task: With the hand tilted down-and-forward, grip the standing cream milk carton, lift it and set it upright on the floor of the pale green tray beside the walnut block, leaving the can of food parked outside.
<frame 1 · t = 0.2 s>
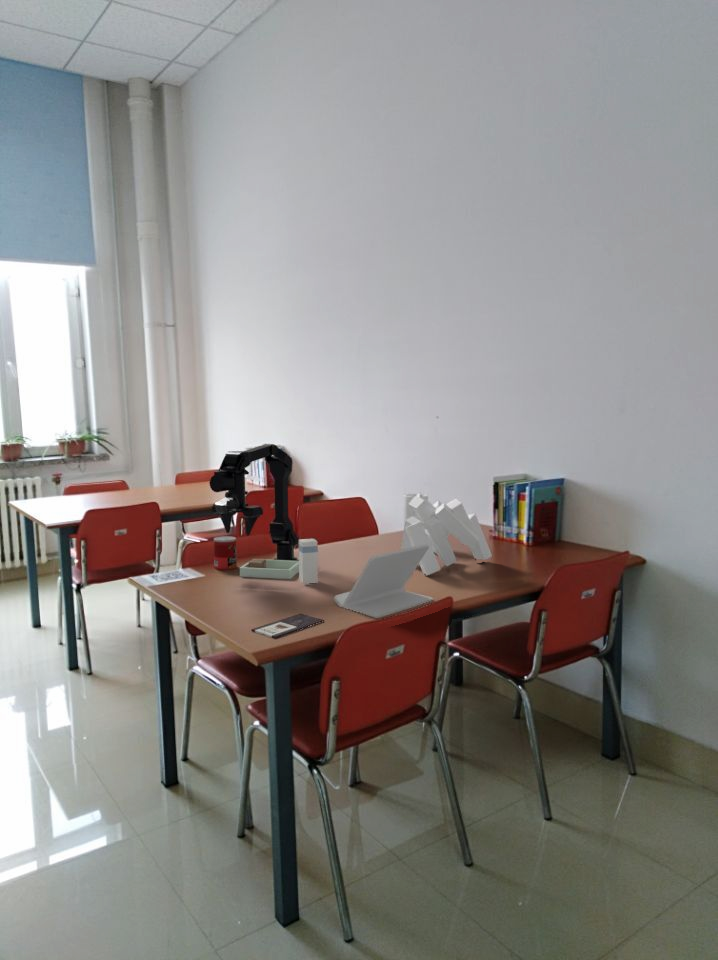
hand: (237, 534, 241), 14 cm above the table, tool pointing down, fingers open, 9 cm apart
pale green tray: (271, 574, 245), on the table
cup: (415, 548, 289), on the table
carton: (308, 582, 235), on the table
walnut block: (257, 572, 246), resting on pale green tray
chocolate bar: (288, 628, 189), on the table
canned food: (225, 569, 253), on the table
white geometric sculpture: (442, 568, 255), on the table
tablet stand: (384, 603, 211), on the table
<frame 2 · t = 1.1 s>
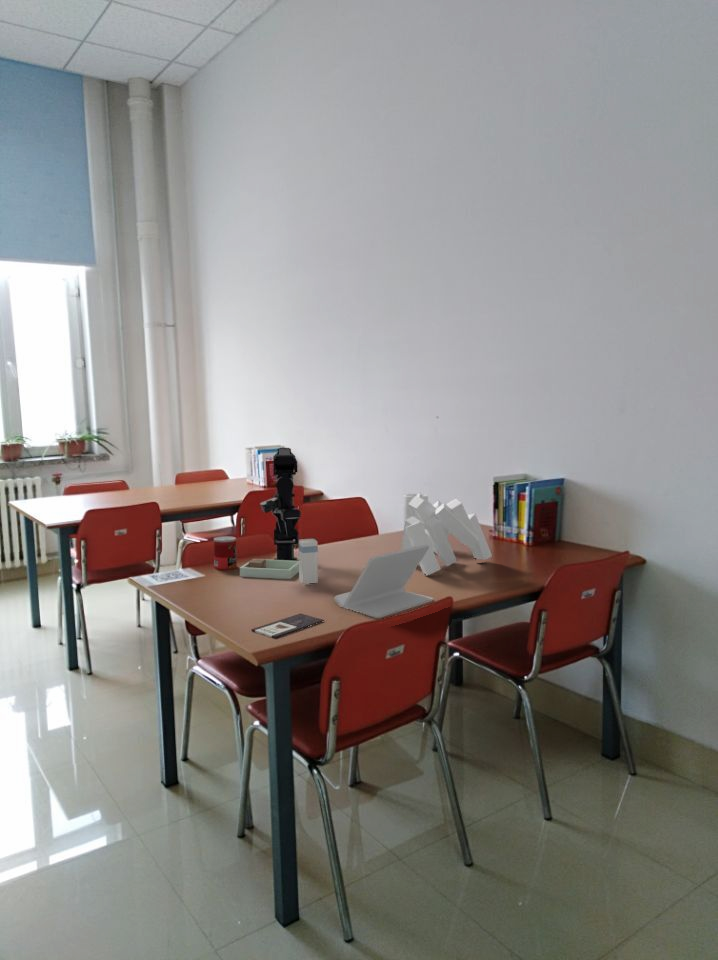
hand: (285, 534, 249), 13 cm above the table, tool pointing down, fingers open, 9 cm apart
nothing on the table moved.
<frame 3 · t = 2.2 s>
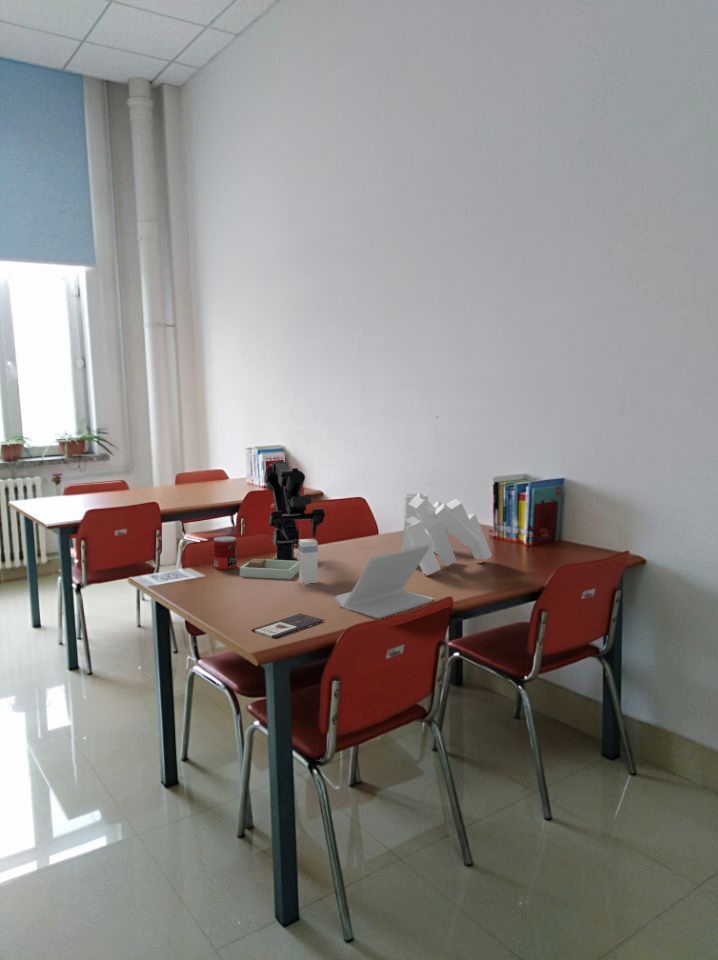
hand: (301, 537, 241), 13 cm above the table, tool tilted 45°, fingers open, 9 cm apart
nothing on the table moved.
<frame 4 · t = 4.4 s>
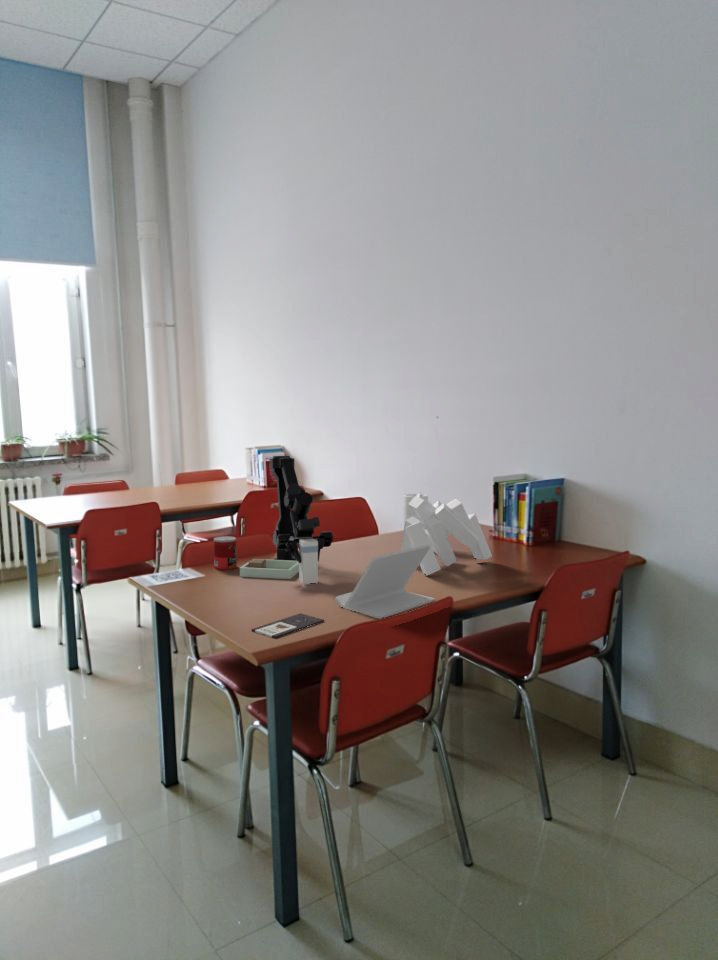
hand: (309, 561, 232), 7 cm above the table, tool tilted 45°, fingers open, 6 cm apart
carton: (308, 582, 235), on the table, touching gripper
everything else where it was.
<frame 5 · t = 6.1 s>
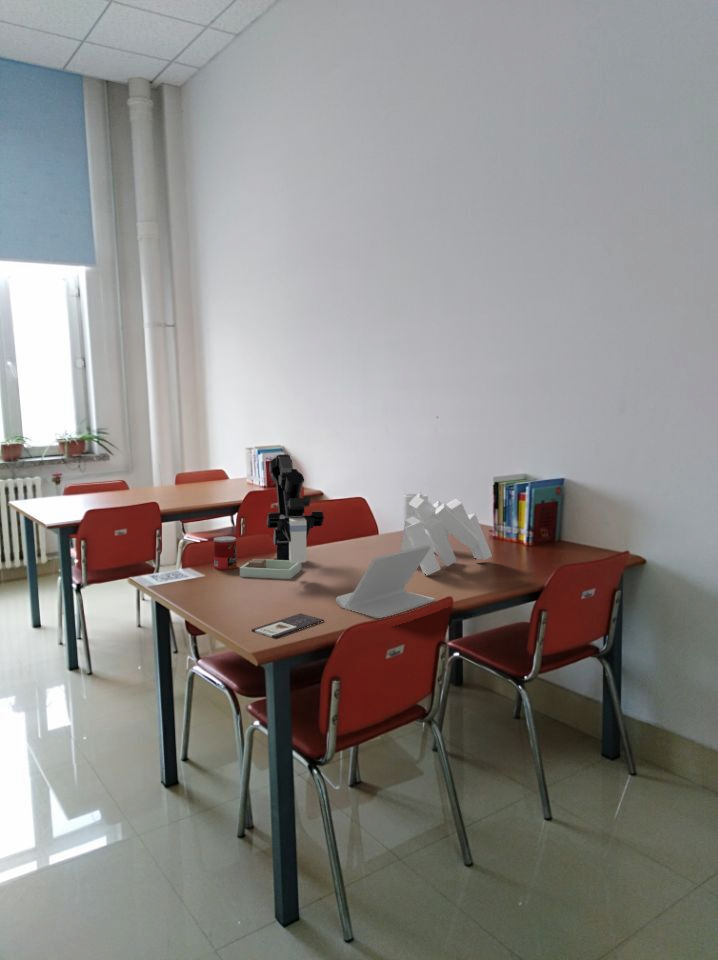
hand: (298, 540, 235), 14 cm above the table, tool tilted 45°, fingers closed on carton, 5 cm apart
carton: (297, 560, 237), point 7 cm above the table, touching gripper
everything else where it was.
when the fingers open (9 cm above the table, at t = 7.9 s): carton drops 1 cm, resting on pale green tray.
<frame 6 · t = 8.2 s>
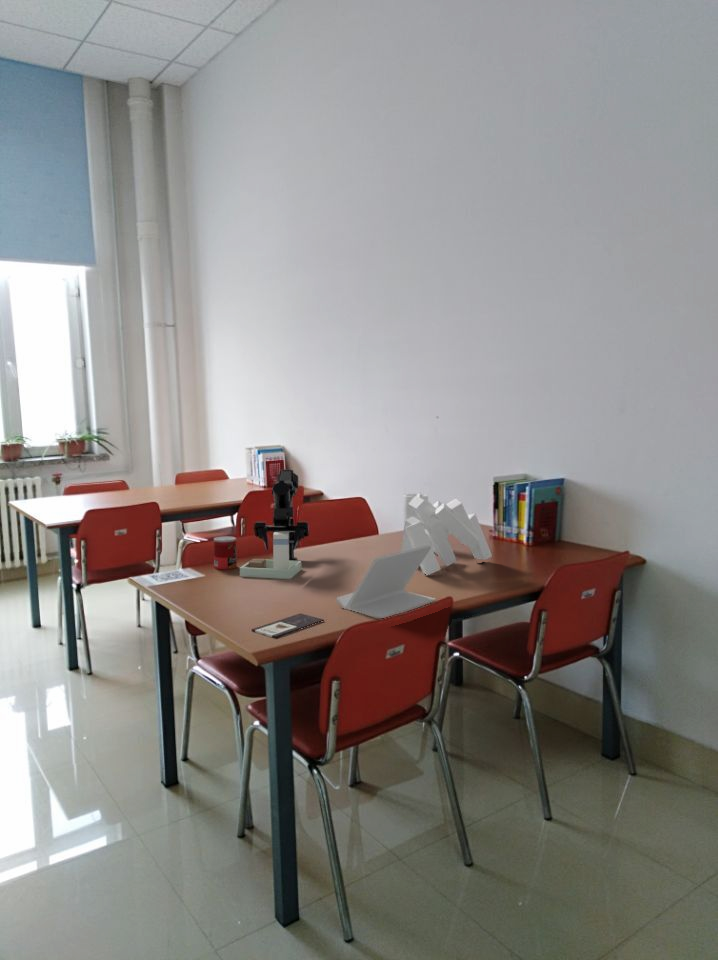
hand: (280, 549, 242), 9 cm above the table, tool tilted 45°, fingers open, 9 cm apart
carton: (281, 573, 244), point 1 cm above the table, touching pale green tray
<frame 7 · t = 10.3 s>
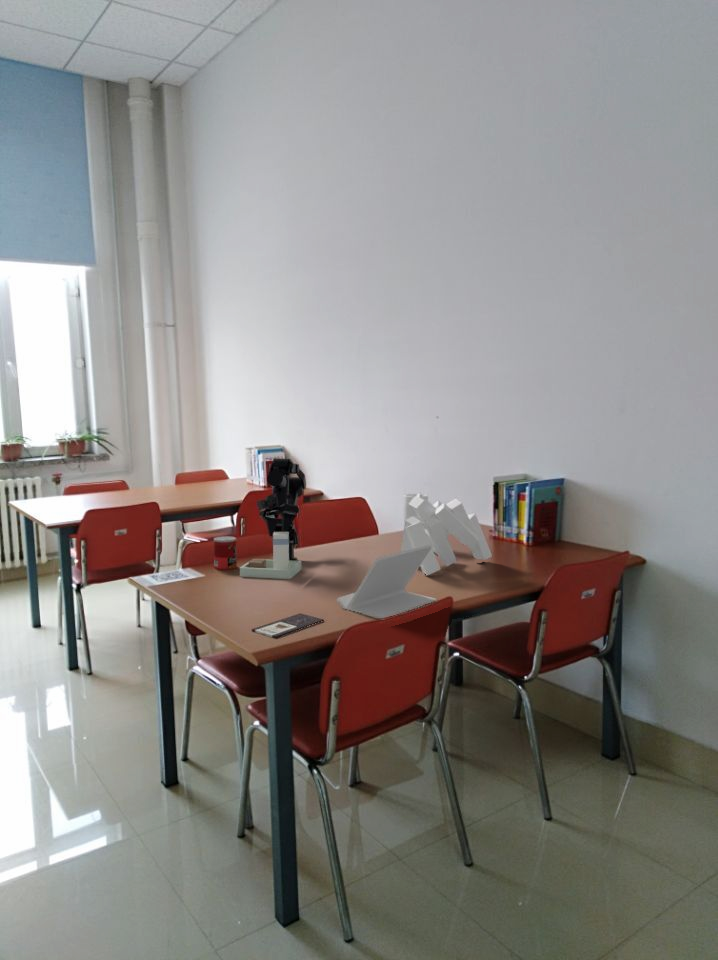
hand: (277, 535, 253), 12 cm above the table, tool tilted 20°, fingers open, 9 cm apart
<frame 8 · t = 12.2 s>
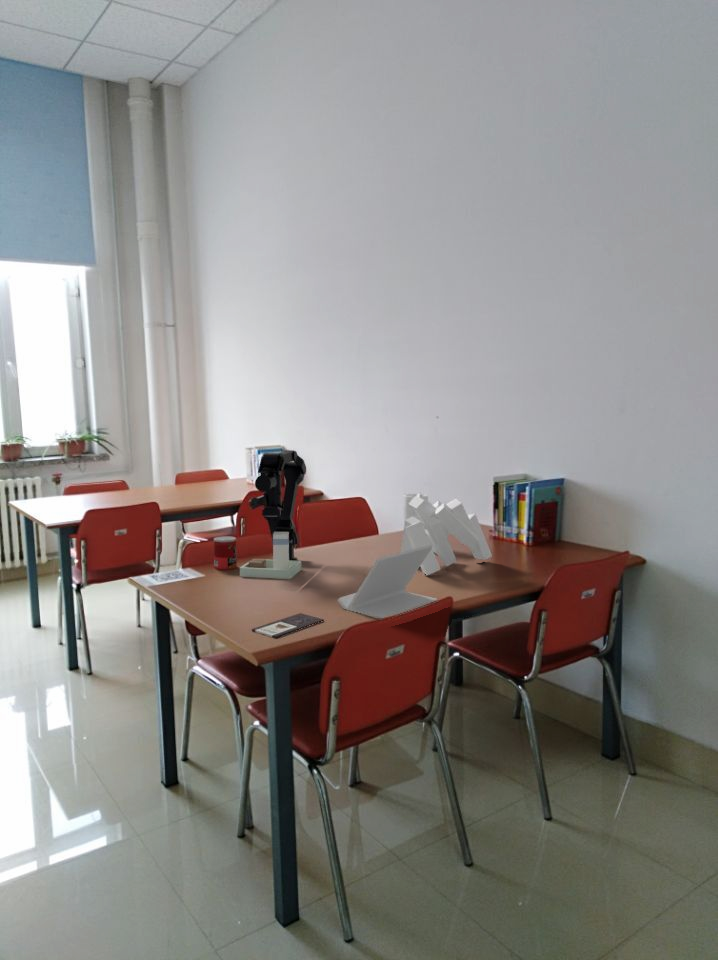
hand: (273, 532, 253), 13 cm above the table, tool pointing down, fingers open, 9 cm apart
at the end: carton 3.6 cm from the pale green tray (horizontally); carton tilted 0°; carton point 0.5 cm above the table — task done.
